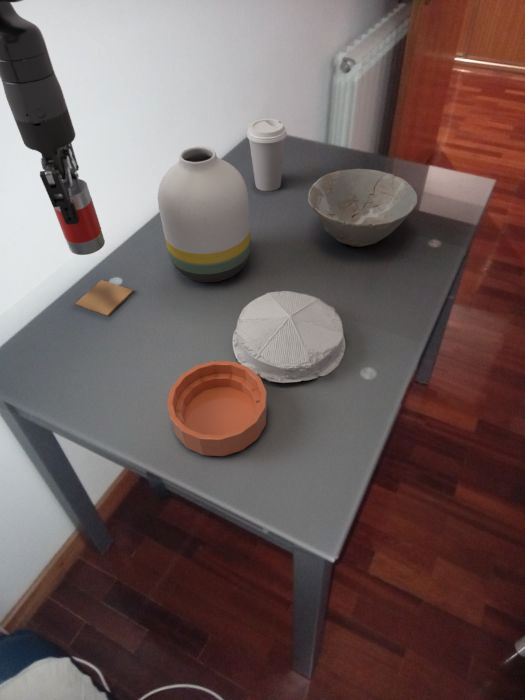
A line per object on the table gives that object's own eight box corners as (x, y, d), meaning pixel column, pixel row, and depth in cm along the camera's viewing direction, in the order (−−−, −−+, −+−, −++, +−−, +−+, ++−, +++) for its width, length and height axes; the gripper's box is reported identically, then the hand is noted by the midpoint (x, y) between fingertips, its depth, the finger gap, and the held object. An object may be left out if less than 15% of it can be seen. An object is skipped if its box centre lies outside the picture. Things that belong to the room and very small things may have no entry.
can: (89, 258, 85) (69, 201, 77) (61, 249, 87) (39, 192, 79) (112, 239, 88) (95, 182, 80) (85, 231, 90) (66, 175, 82)
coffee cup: (288, 193, 122) (289, 132, 112) (250, 195, 122) (247, 135, 111) (284, 174, 129) (284, 116, 118) (248, 177, 129) (245, 118, 118)
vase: (264, 250, 106) (260, 140, 89) (231, 299, 96) (220, 185, 78) (195, 235, 111) (178, 128, 93) (156, 280, 100) (130, 168, 83)
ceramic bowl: (411, 213, 115) (420, 173, 107) (403, 273, 100) (412, 231, 92) (318, 202, 119) (320, 162, 112) (296, 257, 104) (297, 216, 97)
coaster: (108, 316, 93) (107, 314, 93) (75, 304, 96) (75, 303, 96) (133, 291, 98) (133, 290, 98) (102, 281, 101) (101, 279, 100)
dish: (238, 473, 70) (236, 454, 66) (154, 435, 75) (148, 416, 71) (282, 399, 79) (282, 379, 75) (204, 369, 83) (200, 349, 80)
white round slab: (273, 292, 97) (272, 264, 92) (364, 331, 88) (369, 303, 83) (209, 355, 86) (204, 327, 81) (306, 406, 78) (307, 378, 73)
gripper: (22, 92, 75) (58, 192, 87) (2, 132, 65) (46, 238, 78) (72, 88, 76) (101, 188, 88) (59, 126, 66) (94, 233, 78)
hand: (75, 211), depth 83 cm, fingers closed on can, 6 cm apart
